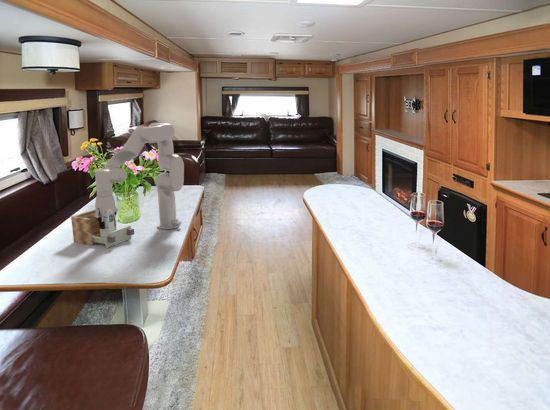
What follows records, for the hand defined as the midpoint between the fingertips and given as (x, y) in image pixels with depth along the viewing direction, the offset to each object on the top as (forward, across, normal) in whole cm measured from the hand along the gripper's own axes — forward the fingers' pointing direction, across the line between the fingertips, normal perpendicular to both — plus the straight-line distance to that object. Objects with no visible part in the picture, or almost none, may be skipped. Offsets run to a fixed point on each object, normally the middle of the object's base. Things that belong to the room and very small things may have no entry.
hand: (107, 226), depth 263 cm
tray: (+9, -2, +1) cm, 9 cm away
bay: (+9, -2, -12) cm, 15 cm away
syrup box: (+5, 0, 0) cm, 5 cm away
